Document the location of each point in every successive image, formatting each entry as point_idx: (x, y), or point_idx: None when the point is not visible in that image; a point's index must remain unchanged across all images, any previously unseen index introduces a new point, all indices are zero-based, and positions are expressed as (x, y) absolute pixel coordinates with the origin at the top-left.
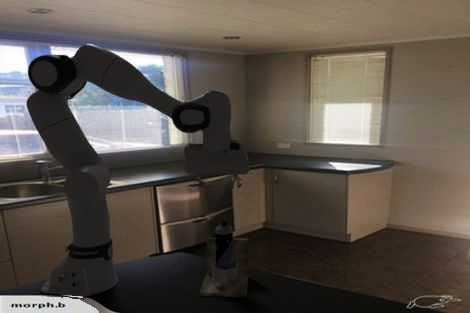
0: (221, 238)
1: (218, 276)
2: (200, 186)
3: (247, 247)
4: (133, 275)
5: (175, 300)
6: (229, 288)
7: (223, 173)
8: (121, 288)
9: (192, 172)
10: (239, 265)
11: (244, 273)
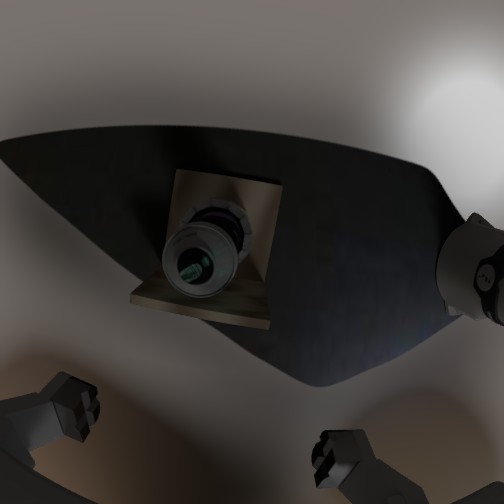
0: (214, 222)
1: (235, 204)
2: (353, 433)
3: (141, 286)
4: (412, 298)
5: (332, 173)
6: (211, 197)
7: (70, 495)
8: (429, 243)
9: (469, 499)
10: None
11: None
